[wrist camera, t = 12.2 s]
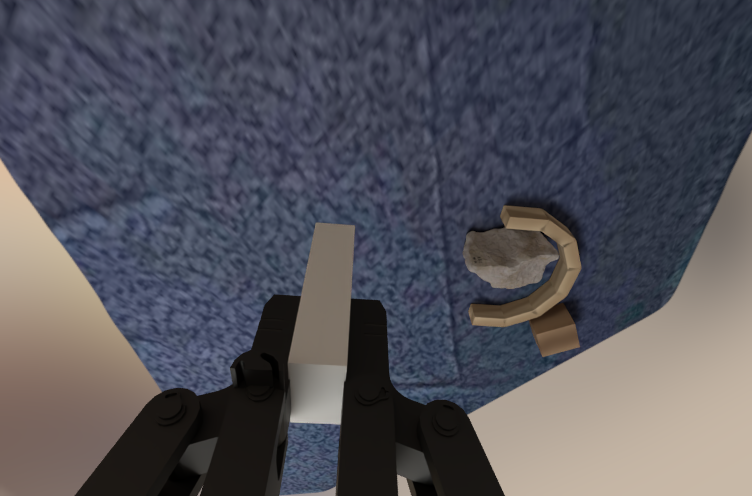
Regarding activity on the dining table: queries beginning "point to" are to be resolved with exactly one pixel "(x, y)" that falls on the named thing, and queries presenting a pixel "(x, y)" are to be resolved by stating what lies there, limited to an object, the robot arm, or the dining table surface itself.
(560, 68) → the dining table surface
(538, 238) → the stone
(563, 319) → the walnut block
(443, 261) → the dining table surface
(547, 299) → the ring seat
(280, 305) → the robot arm
